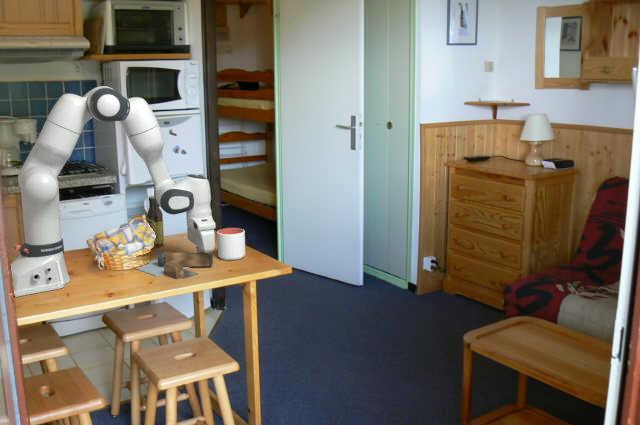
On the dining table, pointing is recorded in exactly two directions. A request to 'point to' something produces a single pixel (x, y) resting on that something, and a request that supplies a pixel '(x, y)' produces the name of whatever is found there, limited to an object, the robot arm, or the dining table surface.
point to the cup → (231, 243)
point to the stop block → (177, 271)
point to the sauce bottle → (156, 221)
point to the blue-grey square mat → (155, 268)
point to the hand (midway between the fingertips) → (201, 257)
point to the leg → (185, 258)
